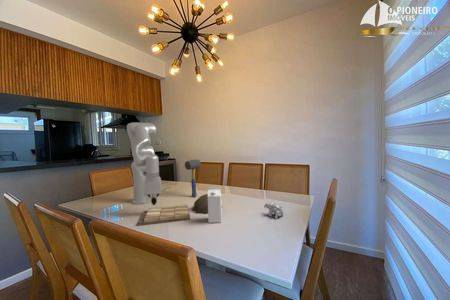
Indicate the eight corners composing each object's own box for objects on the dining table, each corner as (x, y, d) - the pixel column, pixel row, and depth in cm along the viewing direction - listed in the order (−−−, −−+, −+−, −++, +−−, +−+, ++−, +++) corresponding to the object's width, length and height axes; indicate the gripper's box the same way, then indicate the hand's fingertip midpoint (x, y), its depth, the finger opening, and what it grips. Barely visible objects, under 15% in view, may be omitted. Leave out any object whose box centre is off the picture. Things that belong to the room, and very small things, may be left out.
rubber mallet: (191, 199, 160) (190, 160, 158) (185, 198, 164) (183, 160, 163) (202, 195, 170) (201, 159, 168) (196, 194, 174) (195, 158, 173)
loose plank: (149, 210, 133) (149, 208, 133) (161, 209, 135) (161, 207, 135) (146, 217, 121) (146, 215, 121) (159, 216, 123) (159, 213, 122)
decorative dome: (202, 203, 151) (202, 189, 151) (227, 206, 142) (226, 192, 142) (186, 211, 134) (185, 196, 133) (213, 216, 125) (212, 200, 124)
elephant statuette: (280, 221, 116) (281, 207, 115) (259, 216, 121) (260, 203, 121) (284, 215, 124) (285, 202, 123) (264, 211, 129) (265, 199, 129)
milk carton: (209, 218, 122) (208, 186, 121) (221, 217, 122) (220, 185, 121) (208, 223, 115) (207, 189, 114) (221, 222, 115) (220, 188, 113)
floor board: (144, 213, 133) (143, 208, 133) (188, 208, 140) (188, 204, 139) (138, 225, 114) (138, 220, 114) (190, 219, 120) (189, 214, 120)
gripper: (138, 177, 123) (140, 207, 125) (164, 175, 127) (166, 205, 128) (141, 175, 131) (142, 203, 132) (165, 173, 134) (166, 201, 135)
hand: (154, 204), depth 130 cm, fingers closed
